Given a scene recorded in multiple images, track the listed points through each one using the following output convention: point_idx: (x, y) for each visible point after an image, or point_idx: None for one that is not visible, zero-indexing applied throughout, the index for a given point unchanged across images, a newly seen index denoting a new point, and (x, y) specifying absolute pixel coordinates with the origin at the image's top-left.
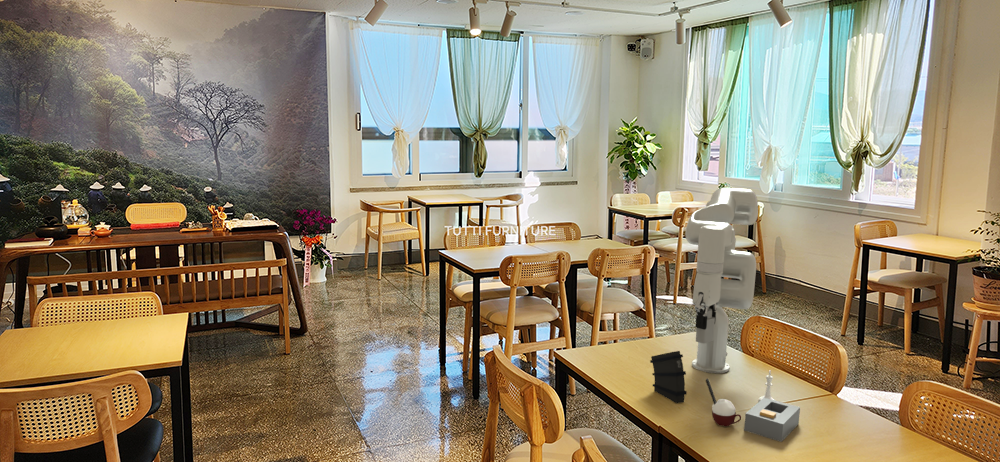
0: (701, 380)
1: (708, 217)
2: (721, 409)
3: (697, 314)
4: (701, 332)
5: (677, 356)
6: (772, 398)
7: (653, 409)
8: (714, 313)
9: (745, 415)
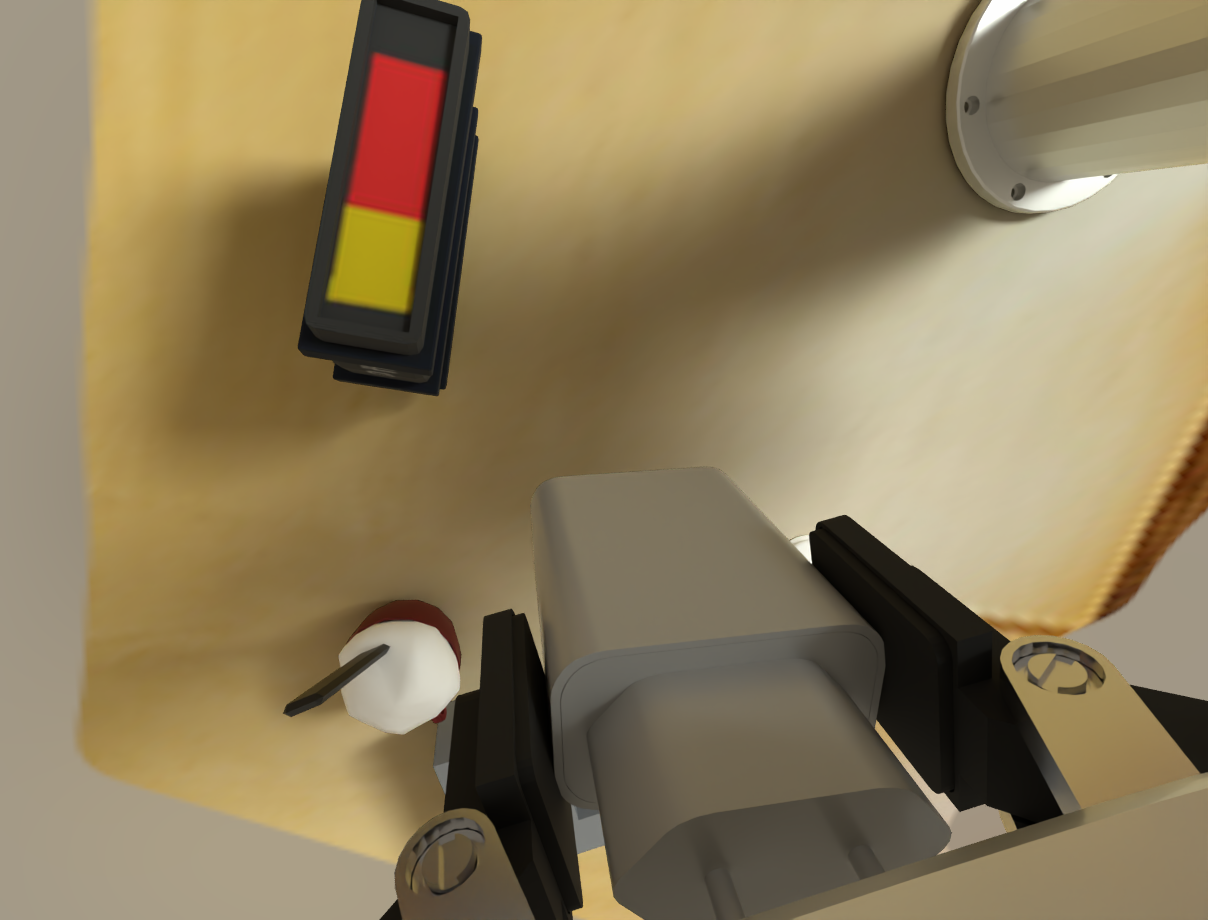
0: (808, 203)
1: None
2: (350, 702)
3: (417, 877)
4: (540, 628)
5: (361, 361)
6: None
7: (187, 338)
8: (931, 781)
9: (434, 758)
